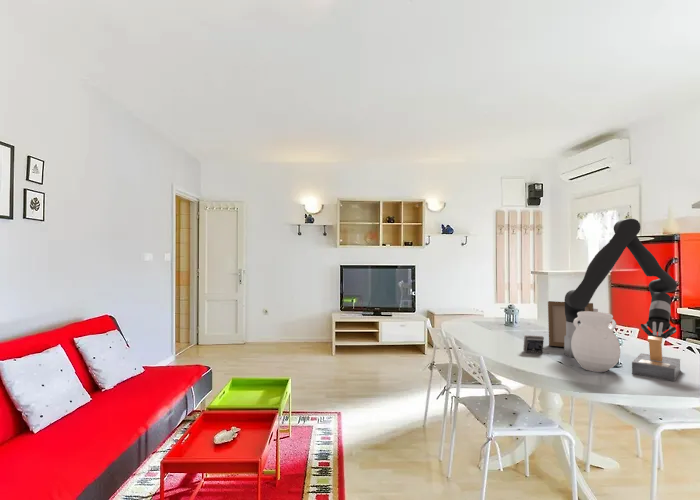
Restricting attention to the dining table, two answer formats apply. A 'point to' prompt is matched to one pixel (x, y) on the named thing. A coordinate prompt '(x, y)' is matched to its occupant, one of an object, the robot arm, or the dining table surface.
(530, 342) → the electrical switch
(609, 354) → the white ceramic vase
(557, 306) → the photo frame
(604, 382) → the dining table surface
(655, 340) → the lever
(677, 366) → the box
